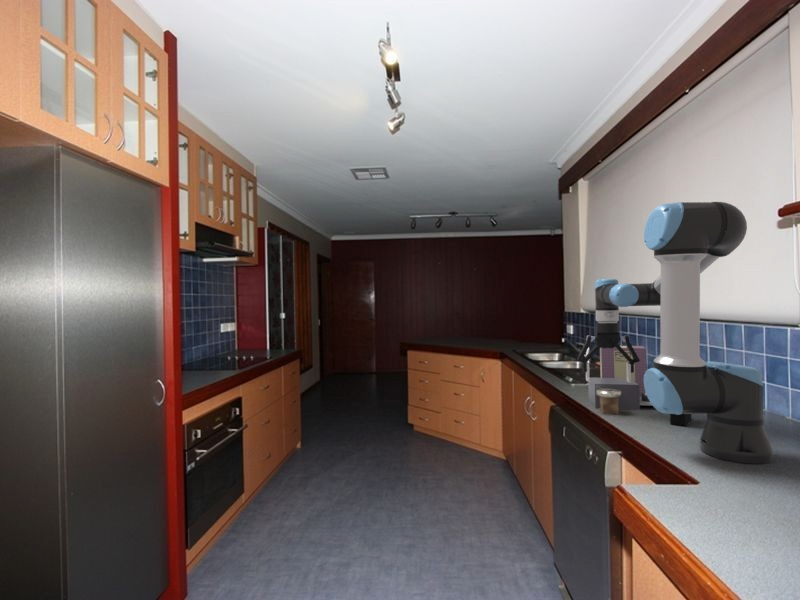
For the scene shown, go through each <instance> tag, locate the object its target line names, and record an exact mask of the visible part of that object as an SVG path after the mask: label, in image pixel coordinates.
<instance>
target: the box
mask: <svg viewBox="0 0 800 600" xmlns="http://www.w3.org/2000/svg"><path fill="white" fill-rule="evenodd" d="M619 346H620V347H621V348H622V349H623V350H624V351H625V352H626V353H627V354H628V356H629V357H630V358H631V359H633V357H632V355H631V353H630V352H629V350H628V348H627V346H626V345H619ZM632 347H633V349H634V351H635V352H636V354H637V356H638V358H639V360H640V361H639V362H636V363H634V372H633V373H631V380H632V381H634V382H636V383H637V384H639V396H640V397H641V392H642V391H645V388H644V375H645V372H646V371H647V370H648V369H647V367H648V366H647V363H648V362H647V347H645V346H643V345H632ZM599 360H600V361H599V365H600V366H599V368H600V369H599V370H600V378H627V372H626V363H629V362H628V361H627V359H626V358H625V357H624V356H623V355H622V354H621V353H620V352H619V351H618V350H617V349H616V348H615V347H614V348H602V347H601V348H600V349H599Z"/></svg>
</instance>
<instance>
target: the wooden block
mask: <svg viewBox="0 0 800 600" xmlns="http://www.w3.org/2000/svg"><path fill="white" fill-rule="evenodd" d="M599 410H600V412H601V413H602V414H604V415H605V414H608V415H619V409H618V397H617V398H608V397H601V396H600V408H599Z"/></svg>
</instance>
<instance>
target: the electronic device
mask: <svg viewBox="0 0 800 600" xmlns="http://www.w3.org/2000/svg"><path fill="white" fill-rule="evenodd" d="M669 421H670V425H673V426H674V425H675V426H679V427H680V426H681V427H687V426H688V424H689V423H690V422H692V414H680V415H676V414H669Z"/></svg>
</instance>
